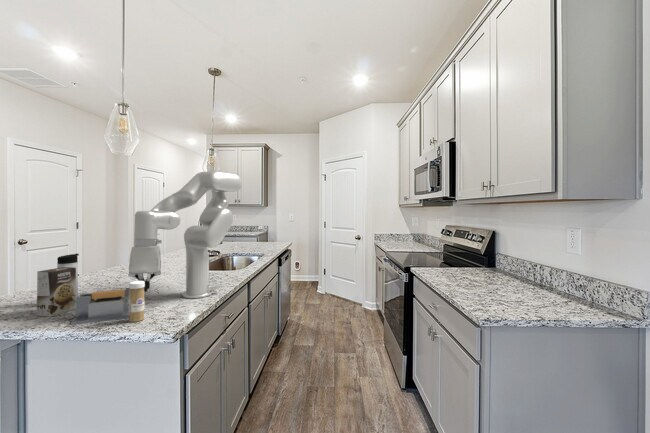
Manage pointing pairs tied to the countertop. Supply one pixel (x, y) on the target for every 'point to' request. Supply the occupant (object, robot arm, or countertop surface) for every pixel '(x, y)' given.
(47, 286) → the coffee box
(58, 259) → the travel mug
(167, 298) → the countertop surface
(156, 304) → the countertop surface
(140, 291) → the sprinkles bottle
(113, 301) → the dock
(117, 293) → the lock bar
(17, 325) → the countertop surface
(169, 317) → the countertop surface
